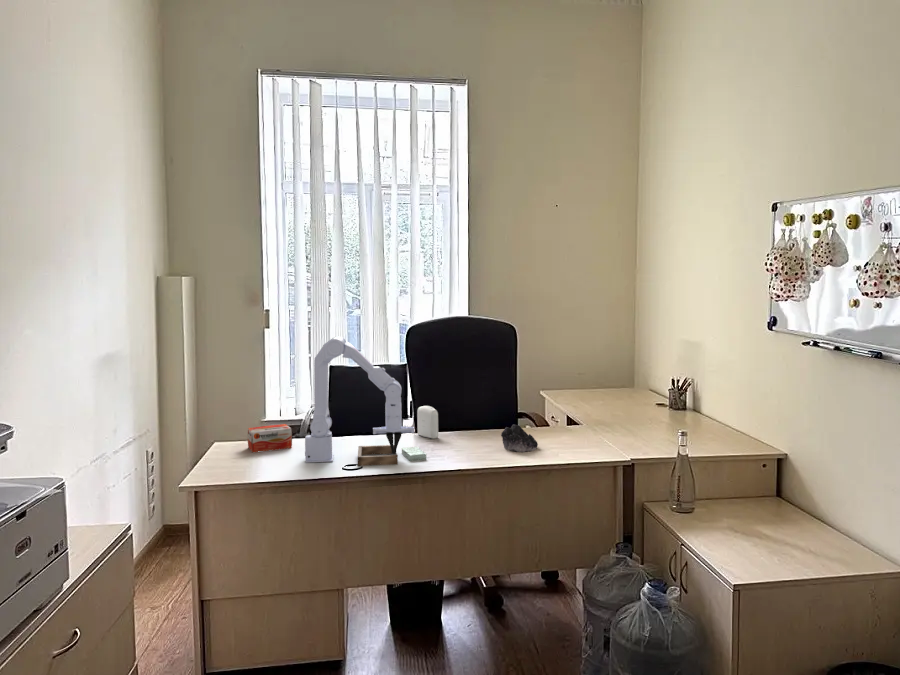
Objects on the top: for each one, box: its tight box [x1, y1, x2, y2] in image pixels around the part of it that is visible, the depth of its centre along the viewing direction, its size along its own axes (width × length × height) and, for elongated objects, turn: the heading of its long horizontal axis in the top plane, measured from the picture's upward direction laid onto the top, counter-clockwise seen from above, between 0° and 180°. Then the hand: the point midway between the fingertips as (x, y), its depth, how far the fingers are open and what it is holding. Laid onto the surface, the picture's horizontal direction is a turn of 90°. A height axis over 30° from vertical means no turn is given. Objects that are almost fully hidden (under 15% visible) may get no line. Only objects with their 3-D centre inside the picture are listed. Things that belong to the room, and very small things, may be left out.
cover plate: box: [401, 446, 427, 462], centre depth 252 cm, size 6×11×2 cm, turn 19°
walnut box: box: [357, 444, 399, 467], centre depth 248 cm, size 14×15×3 cm
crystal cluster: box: [500, 424, 539, 453], centre depth 263 cm, size 13×14×10 cm
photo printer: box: [416, 405, 439, 439], centre depth 282 cm, size 10×4×12 cm, turn 39°
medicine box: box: [246, 423, 293, 453], centre depth 265 cm, size 15×8×8 cm, turn 117°
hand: (393, 453), depth 249 cm, fingers closed
